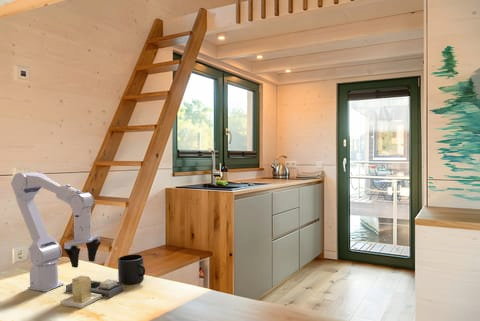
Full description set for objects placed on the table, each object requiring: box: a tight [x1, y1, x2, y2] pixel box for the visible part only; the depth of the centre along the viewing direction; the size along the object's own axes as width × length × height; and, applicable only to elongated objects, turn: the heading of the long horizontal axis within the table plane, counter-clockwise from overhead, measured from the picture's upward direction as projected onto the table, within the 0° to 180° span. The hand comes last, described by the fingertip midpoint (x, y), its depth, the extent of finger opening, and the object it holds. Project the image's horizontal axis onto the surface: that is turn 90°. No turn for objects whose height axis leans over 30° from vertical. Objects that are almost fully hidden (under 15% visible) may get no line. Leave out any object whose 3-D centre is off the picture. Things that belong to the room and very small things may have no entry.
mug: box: [117, 253, 146, 285], centre depth 141 cm, size 9×12×9 cm
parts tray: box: [60, 293, 103, 309], centre depth 123 cm, size 9×9×1 cm
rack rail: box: [65, 275, 124, 299], centre depth 132 cm, size 20×7×4 cm, turn 68°
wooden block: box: [71, 277, 92, 303], centre depth 122 cm, size 4×4×7 cm
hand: (83, 264), depth 132 cm, fingers open, 7 cm apart
